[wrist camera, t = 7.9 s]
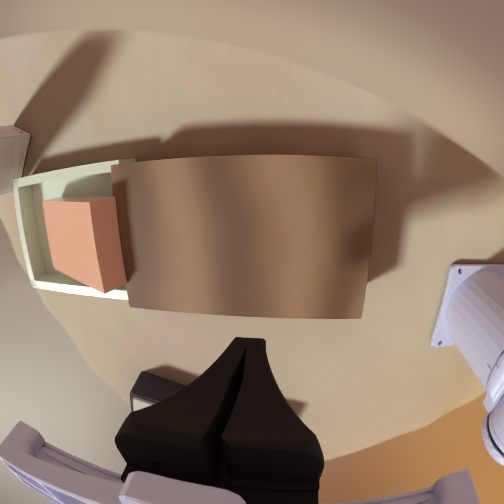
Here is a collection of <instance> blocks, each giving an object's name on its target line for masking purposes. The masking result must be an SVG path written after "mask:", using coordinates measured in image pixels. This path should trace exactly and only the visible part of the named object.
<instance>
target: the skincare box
mask: <svg viewBox="0 0 504 504" xmlns="http://www.w3.org/2000/svg"><path fill="white" fill-rule="evenodd" d="M30 136H31V134H29V133H27V132H25V131H23V130H21V129H19V128H17V127H15V126H12V125H10V126H1V127H0V195H2V194H5V193H8V192H11V191H14V189H13V180H14V179H18V178H22V172H23V167H24V162H25V157H26V153H27V148H28V144H29V140H30Z"/></svg>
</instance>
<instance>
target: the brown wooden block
mask: <svg viewBox="0 0 504 504" xmlns="http://www.w3.org/2000/svg"><path fill="white" fill-rule="evenodd" d="M376 171H377V159H367V158H354V157H337V156H315V155H227V156H204V157H187V158H174V159H162V160H151V161H141V162H132V163H124V164H116V165H111V177H112V190H113V197H115V200H116V210H117V219H118V228H119V236H120V243H121V250H122V256H123V263H124V269H125V275H126V280H127V284H125V285H126V290H127V295H128V300H129V305H130V307H135V308H144V309H153V310H163V311H174V312H186V313H199V314H212V315H228V316H246V317H269V318H305V319H361V316H362V311H363V305H364V298H365V292H366V285H367V278H368V270H369V262H370V254H371V245H372V235H373V223H374V210H375V194H376Z"/></svg>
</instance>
